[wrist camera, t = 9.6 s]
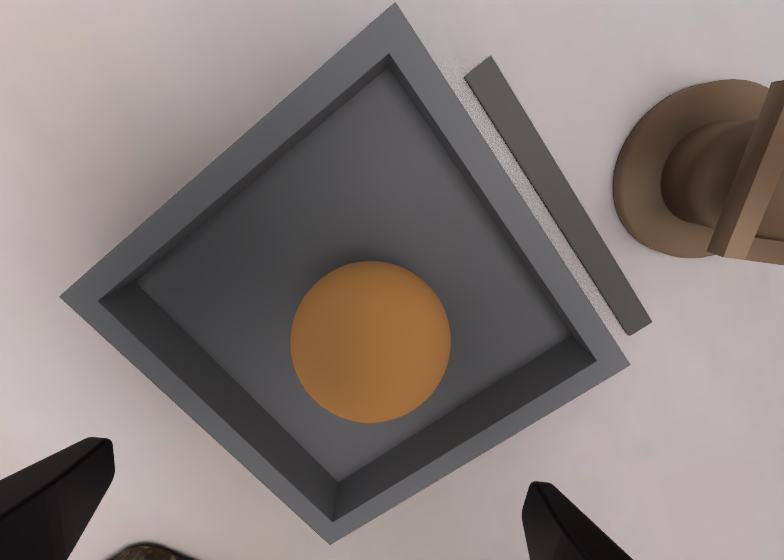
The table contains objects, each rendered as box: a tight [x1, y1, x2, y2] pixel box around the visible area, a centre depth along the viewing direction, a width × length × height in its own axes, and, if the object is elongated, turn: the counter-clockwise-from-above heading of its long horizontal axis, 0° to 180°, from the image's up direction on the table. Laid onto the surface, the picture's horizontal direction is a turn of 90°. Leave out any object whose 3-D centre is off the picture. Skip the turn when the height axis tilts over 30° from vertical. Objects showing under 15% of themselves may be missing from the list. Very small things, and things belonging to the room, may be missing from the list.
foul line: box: [464, 56, 652, 336], centre depth 18 cm, size 1×14×1 cm, turn 38°
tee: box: [613, 79, 784, 265], centre depth 15 cm, size 7×7×6 cm
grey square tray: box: [59, 2, 630, 545], centre depth 17 cm, size 16×16×3 cm
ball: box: [290, 261, 451, 423], centre depth 16 cm, size 6×6×6 cm
